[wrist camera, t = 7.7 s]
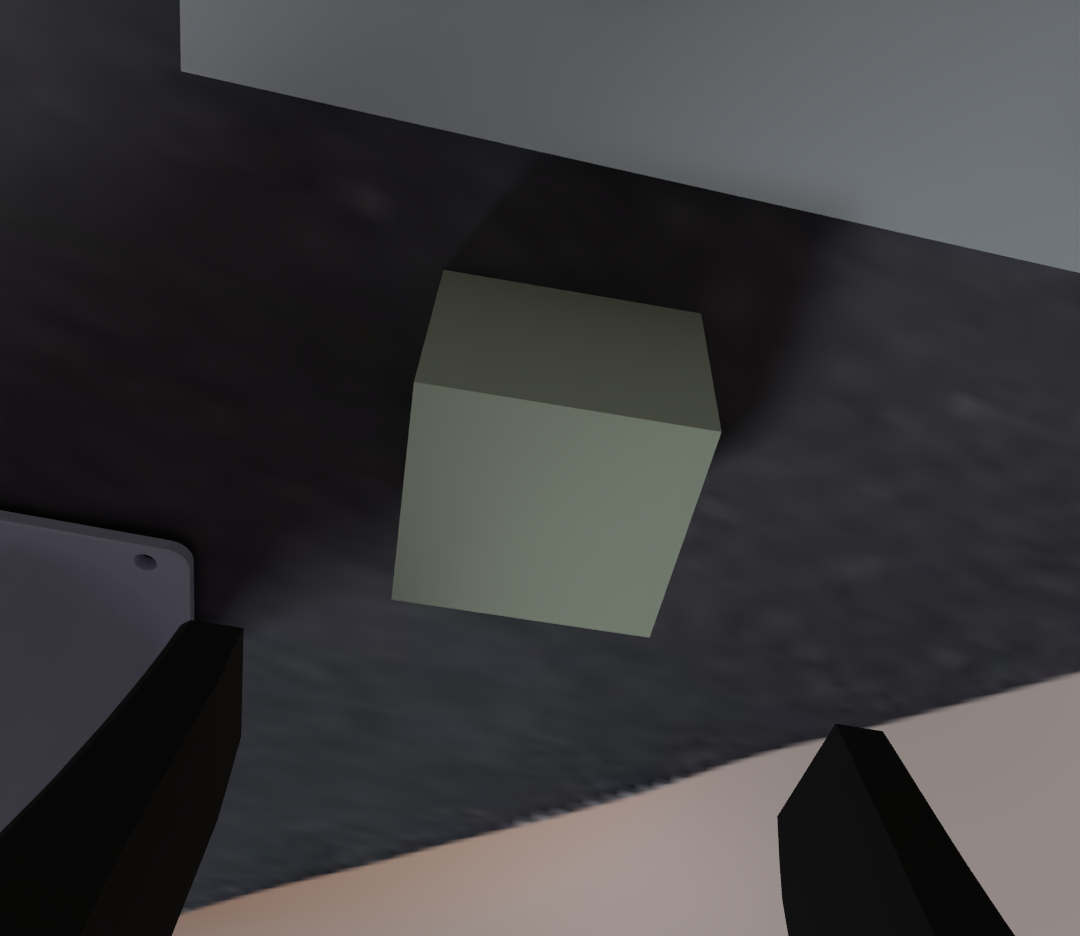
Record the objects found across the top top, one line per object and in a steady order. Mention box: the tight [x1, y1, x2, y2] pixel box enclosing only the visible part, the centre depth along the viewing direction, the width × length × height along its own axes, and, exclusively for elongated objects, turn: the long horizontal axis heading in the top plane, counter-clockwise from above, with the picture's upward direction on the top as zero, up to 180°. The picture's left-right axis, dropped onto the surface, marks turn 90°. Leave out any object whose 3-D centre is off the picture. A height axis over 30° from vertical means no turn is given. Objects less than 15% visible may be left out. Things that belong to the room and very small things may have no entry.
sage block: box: [392, 270, 721, 637], centre depth 19 cm, size 5×5×4 cm
